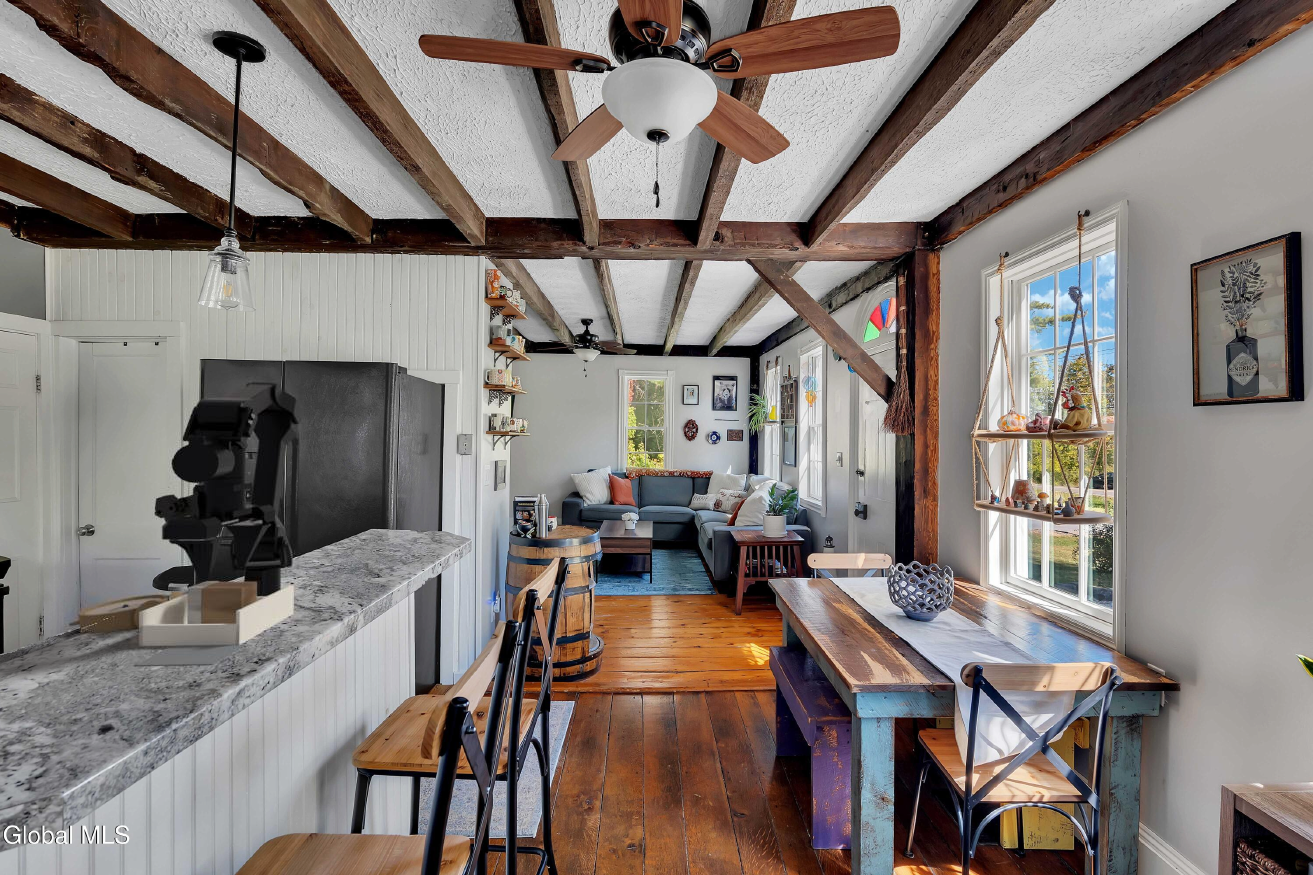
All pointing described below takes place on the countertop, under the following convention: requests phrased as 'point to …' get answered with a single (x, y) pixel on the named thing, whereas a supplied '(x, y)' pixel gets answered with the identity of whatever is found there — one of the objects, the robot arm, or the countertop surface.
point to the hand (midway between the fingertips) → (223, 574)
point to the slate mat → (190, 655)
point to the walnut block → (219, 601)
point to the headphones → (119, 613)
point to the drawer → (172, 628)
